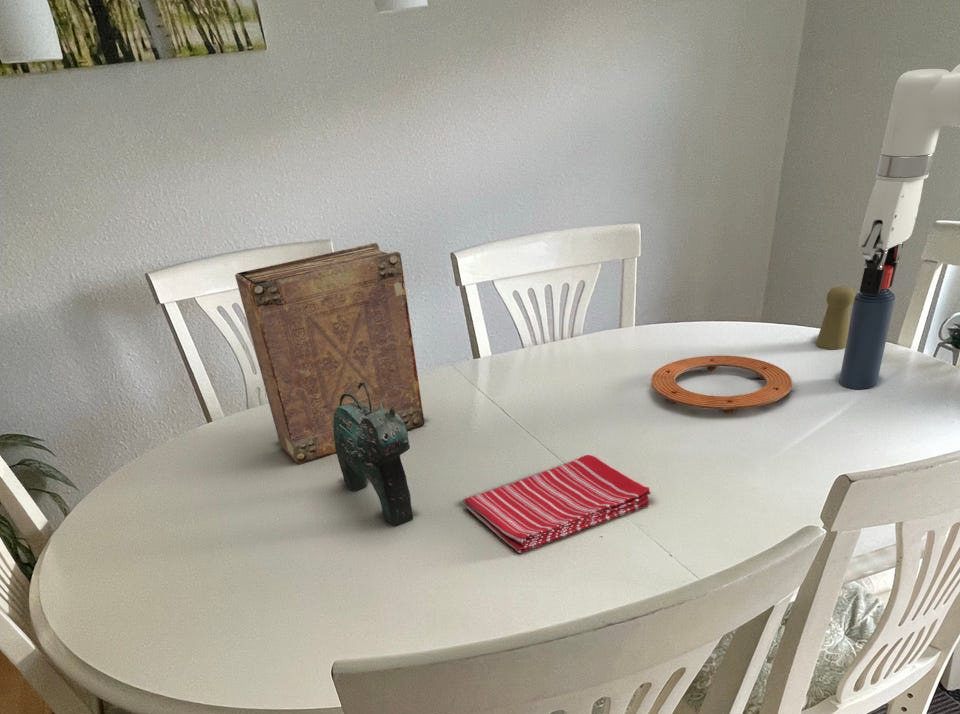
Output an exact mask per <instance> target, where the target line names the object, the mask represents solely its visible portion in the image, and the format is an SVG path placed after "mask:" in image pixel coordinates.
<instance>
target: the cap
mask: <svg viewBox="0 0 960 714" xmlns="http://www.w3.org/2000/svg"><path fill="white" fill-rule="evenodd" d="M882 269H885V272H884V276H883V280H882V284H881V289H886V288H887V289H889V288H888V287H889V286H890V283H891V278H892V274H893V267H892V266H890V265H884V266H883V268H882Z"/></svg>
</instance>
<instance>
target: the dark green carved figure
mask: <svg viewBox="0 0 960 714" xmlns="http://www.w3.org/2000/svg"><path fill="white" fill-rule="evenodd" d="M361 386H363V387H364V388H365V390H366V393H367V396H368V400H369V407H368V406H366V405H364V404H360V403H359V401H358V400H357V399H356V398H355V397H354V396H353V395H351V394H349V393H345V394H342V396H341V398H340V406H339V407H338V408H337V409H336V411H335V413H334V420H333V428H334V439H335V449H336V453H335V454H336V456H337V460H338V464H339V468H340V471H341V474H342V478H343V482H344V484H345V486H346V487H347V489H348V490H350V491H352V492H357V491H359V490H363V489H365V488H366V487H368V481H369V482H370V484H371V485H372V487H373V489H374V492H375V493H376V495H377V497H378V500H379V503H380V507H381V513H382V517H383V519H384V520H385V521H387V522H388V523H390V525H391V526H393V527H398V526H400V525H403V524H405V523H407V522H410V521H412V520H414V516H413V509H412V508H413V507H412V501H411V499H412V498H411V497H412V496H411V491H410V488H409V485H408V481H407V476H406V471H405V468H404V465H403V463H402V459H401V455H402V454H404V453H406V452H408V451H409V450H410V448H411V445H410V440H409V435H408V434H409V433H408V431H407V430H406V427H405V425H404V423H403V421H402V419H401V418H400V416H399V415H398V414H397V413H396V412H395V411H394V407H392V408H390V410H385V409H384V406H383V401H382V402H381V403H380V404H379V406H378V408H377V410H376V411H375V412H373V411H372V406H371V401H370V396H369V391H368V389H367V387H366V385H365V382H361V383H359V386H358V388H359V389H360V387H361ZM345 396H348V397H351V398H353V399H354V401H355V402H353V403H349V404H346V405H344V406H342V401H343V399H344V397H345Z"/></svg>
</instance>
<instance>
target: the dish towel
mask: <svg viewBox="0 0 960 714" xmlns="http://www.w3.org/2000/svg"><path fill="white" fill-rule="evenodd" d="M648 495H651V491H650V487H649V486H644V485H643V484H641V483H639V482H638V481H636V480H634V479H632V478H630V477H629V476H627V475H625V474H624V473H622V472H620V471H618V470H616V469H615V468H613V467H611V466H610V465H609V464H607V463H605V462H603V461H602V460H600V459H599V458H598V457H596V456H594V455H590V454H586V455H583V456H581V457H579V458H576V459H574V460H571V461H570V462H567V463H564V464H559V465H558V466H555V467H553V468H550V469H546V470H544V471H542V472H539V473H536V474H533V475H530V476H528V477H525V478H523V479H519V480H517V481H515V482H512V483H509V484H505V485H502V486H501V487H497V488H494V489H491V490H488V491H485V492H481V493H476V494H474V495H472V496H469V497H466V498H464V499H463V500H462V502H463V504H464V506H465V509H467V510H468V511H469V512H471V513H472V514H473V515H474V516H475V517H476V518H477V519H478V520H480V521H481V522H482V523H483V524H484V525H486V526H487V527H488V528H489V529H490V530H491V531H492V532H494V534H496V535H497V536H498V537H499V538H500V539H501V540H502V541H504V542H505V543H506V544H507V545H509V546H511V548H513V549H514V550H515V551H516V552H517V553H520V554H521V553H522V554H523V553H524V552H527V551H530V550H533V549H535V548H538V547H541V546H543V545H546V544H549V543H551V542H553V541H556V540H559V539H563V538H565V537H567V536H569V535H570V536H571V535H572V534H575V533H579V532H581V531H582V530H585V529H588V528H589V529H590V528H593V527H595V526H597V525H599V524H602V523H605V522H608V521H610V520H612V519H615V518H618V517H622V516H625V515H626V514H629V513H632V512H635V511H637V510H640V509H642V508H645V507H648V506H649V505H650V500H649V496H648Z"/></svg>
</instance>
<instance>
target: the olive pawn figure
mask: <svg viewBox="0 0 960 714" xmlns="http://www.w3.org/2000/svg"><path fill="white" fill-rule="evenodd" d="M855 296H856V292H855V289H854V288H852V287H850V286H844V285H843V286H841V285H840V286H835V287H832V288H831V289H830V290H829V291H828V292H827V294H826V299H825V300H826V304H827V308H826V311H825V314H824V317H823V320H822V323H821V326H820V330H819V332H818V335H817V338H816V342H815V346H817V347H818V348H820V349H823V350H843V349H845V347H846V341H847V336H848V331H849V325H850V317H851V315H850V314H851V306H853V303H854V298H855Z"/></svg>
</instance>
